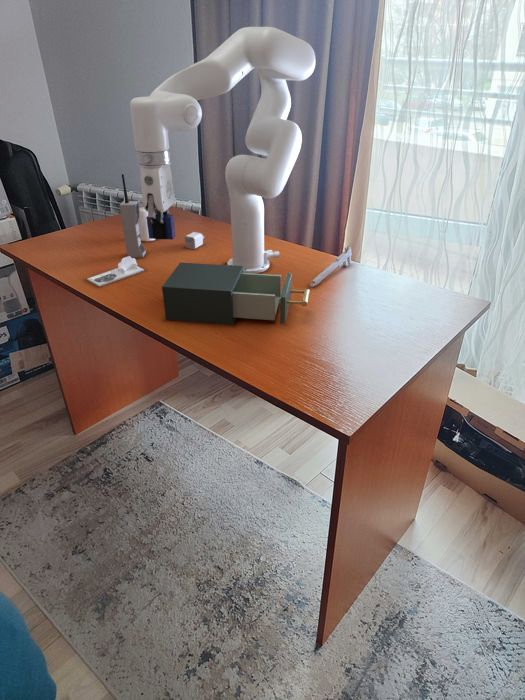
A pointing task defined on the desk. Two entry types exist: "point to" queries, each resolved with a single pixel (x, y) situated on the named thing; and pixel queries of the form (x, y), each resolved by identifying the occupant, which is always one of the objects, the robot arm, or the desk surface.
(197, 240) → the usb wall charger
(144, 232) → the can
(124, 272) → the car cutout
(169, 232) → the card deck
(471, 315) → the desk surface
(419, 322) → the desk surface
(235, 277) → the cabinet
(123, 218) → the vintage mobile phone
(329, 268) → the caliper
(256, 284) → the drawer
